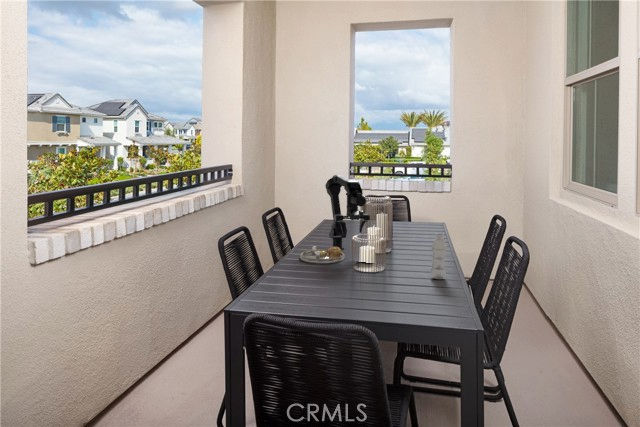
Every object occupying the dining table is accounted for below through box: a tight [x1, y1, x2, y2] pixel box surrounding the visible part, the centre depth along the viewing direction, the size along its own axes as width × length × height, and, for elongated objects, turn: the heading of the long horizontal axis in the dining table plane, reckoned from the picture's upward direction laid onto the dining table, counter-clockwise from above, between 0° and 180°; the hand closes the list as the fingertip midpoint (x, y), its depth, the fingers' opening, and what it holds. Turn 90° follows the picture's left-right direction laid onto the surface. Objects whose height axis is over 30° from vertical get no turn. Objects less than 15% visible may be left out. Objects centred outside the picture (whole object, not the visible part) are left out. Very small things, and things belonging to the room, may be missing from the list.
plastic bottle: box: [430, 233, 448, 280], centre depth 213 cm, size 6×7×20 cm
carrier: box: [299, 245, 346, 265], centre depth 253 cm, size 23×23×5 cm
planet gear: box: [327, 246, 342, 257], centre depth 254 cm, size 7×7×4 cm
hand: (351, 233), depth 259 cm, fingers open, 9 cm apart
